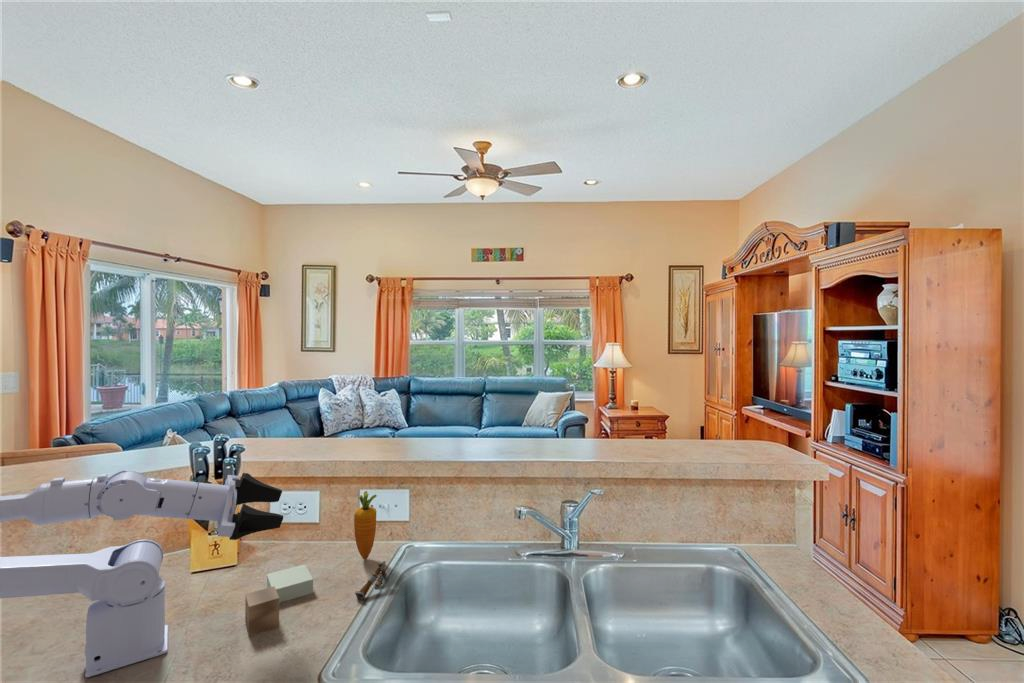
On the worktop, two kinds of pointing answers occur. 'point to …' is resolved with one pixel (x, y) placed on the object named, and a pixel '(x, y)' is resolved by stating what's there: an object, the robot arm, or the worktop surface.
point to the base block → (291, 582)
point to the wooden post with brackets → (372, 579)
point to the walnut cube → (261, 611)
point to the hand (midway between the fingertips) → (280, 508)
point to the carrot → (365, 526)
